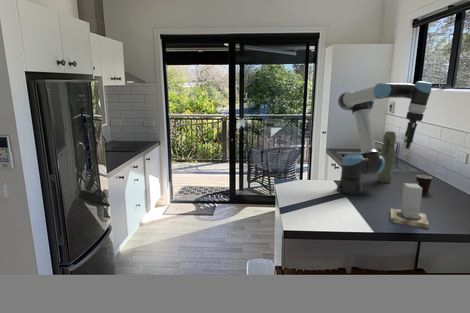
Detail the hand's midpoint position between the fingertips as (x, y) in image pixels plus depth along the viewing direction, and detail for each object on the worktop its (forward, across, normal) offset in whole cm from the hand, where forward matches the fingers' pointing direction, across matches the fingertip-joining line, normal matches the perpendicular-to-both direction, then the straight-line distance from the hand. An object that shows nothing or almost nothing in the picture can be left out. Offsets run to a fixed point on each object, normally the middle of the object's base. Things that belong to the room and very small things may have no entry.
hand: (404, 151), depth 169 cm
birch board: (+29, -21, -8) cm, 37 cm away
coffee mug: (+31, +34, -19) cm, 50 cm away
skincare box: (+27, -21, -8) cm, 35 cm away
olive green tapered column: (+34, +47, +3) cm, 58 cm away
